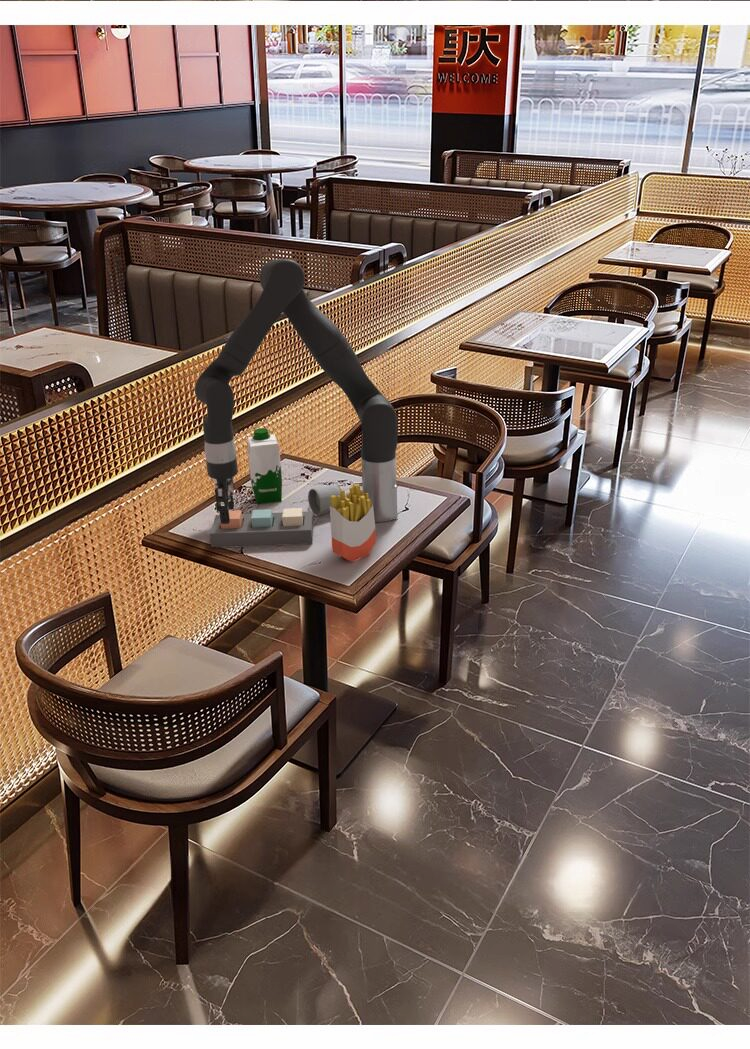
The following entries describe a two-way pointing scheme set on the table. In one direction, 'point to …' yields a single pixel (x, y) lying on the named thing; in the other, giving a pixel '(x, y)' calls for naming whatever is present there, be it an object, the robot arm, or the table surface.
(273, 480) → the milk carton
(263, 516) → the teal key
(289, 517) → the sand key
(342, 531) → the french fries container
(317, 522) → the table surface
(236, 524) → the terracotta key
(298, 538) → the grey long flat block
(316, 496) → the ceramic mug
